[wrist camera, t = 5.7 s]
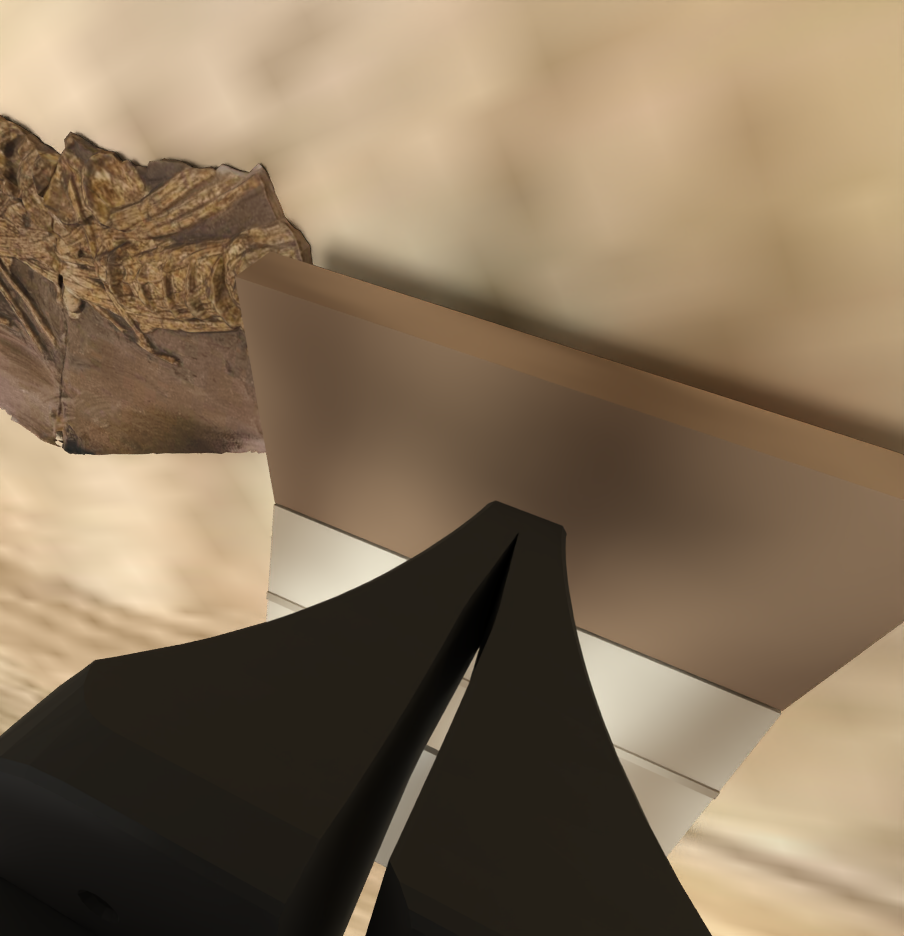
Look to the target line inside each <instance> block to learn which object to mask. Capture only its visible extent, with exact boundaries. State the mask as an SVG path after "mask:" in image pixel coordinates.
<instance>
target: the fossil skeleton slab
mask: <svg viewBox="0 0 904 936" xmlns="http://www.w3.org/2000/svg"><path fill="white" fill-rule="evenodd" d="M64 142H65V149H64V151H63V152H62V154H61V155H60V154H59V153H58V152H56V151H55V150H54V149H53V148H52V147H50V146H48V145H46V144H43V143H41V142H40V140H39V139H38V138H37V137H36V136H35V135H33V134H32V133H30V132H29V131H27V130H26V129H24V128H23V127H21V126H19V125H17V124H15V123H13V122H10V121H8V120H6V119H5V118H4V117H2V116H1V115H0V408H1V409H5V410H6V412H7V413H8V414H9V415H11V416H12V418H11V420H13V421H15V422H17V423H19V424H21V425H22V426H23V427H25V428H26V429H28V430H29V431H31V432H32V433H34V434H35V435H36V436H37V437H38V438H39V439H41V440H43V441H45V442H47V443H50V444H53V445H56V446H58V447H61V446H59V445H57V444H56V443H55V441H57V440H56V439H55V438H56V432H57V431H62V433H63V441H60V440H58V441H60V442H61V443H63V445H62V448H63V449H64V450H65V451H66V452H68V453H70V454H72V453H74V454H83V455H85V454H92V455H107V454H150V453H156V454H161V453H218V454H222V453H225V452H231V453H243V452H248V451H251V452H252V453H253V452H255V451H256V452H258V453H264V452H266V449H265V443H264V438H263V432H262V426H261V421H260V415H259V409H258V404H257V398H256V393H255V387H254V381H253V376H252V370H251V364H250V359H249V353H248V347H247V342H246V336H245V330H244V325H243V319H242V313H241V308H240V302H239V296H238V291H237V285H236V280H235V276H236V275H238V274H239V273H241V272H242V271H243V270H245V269H246V268H248V267H249V266H250V265H252V264H253V263H255V262H256V261H258V260H259V259H260V258H262V257H263V256H265V255H266V254H267V253H269V252H270V251H271V252H274V253H277V254H280V255H283V256H286V257H289V258H292V259H296V260H299V261H302V262H305V263H308V264H311V265H312V259H311V253H310V245H309V244H308V243H307V241H306V240H305V238H304V237H303V235H302V233H301V232H300V231H299V230H297V229H295V228H293V227H292V226H291V225H290V224H289V222H288V221H287V219H286V218H285V216H284V213H283V210H282V207H281V205H280V203H279V200H278V198H277V196H276V195H275V191H274V187H273V184H272V183H271V181H270V177H269V174H268V173H267V172H266V171H265V170H264V168H263V167H262V166H261V165H260V164H259V163H258V164H257V165H256V166H255V167H254V168H253V169H252V170H251V171H250V172H245V171H241V170H236V169H234V168H232V167H229V166H228V165H225V164H222V165H221V166H220V167H218V168H217V169H215V168H213V167H206V168H201V169H200V168H193V167H192V166H191V165H189V164H186V163H184V162H181V161H178V160H169V159H165V158H164V159H162V160H160V161H149V164H148V167H143V166H136V165H135V164H133V163H132V162H131V161H129V160H125V161H122V160H121V159H120V158H119V156H118V155H117V154H116V153H115V152H111V151H106V150H103V149H100V148H97V147H95V146H93V145H92V144H91V143H89V142H88V141H86V140H85V139H83V138H82V137H80V136H79V135H77V134H75V133H72V132H70V133H69V134H68V136H67V137H66V138H65V139H64Z"/></svg>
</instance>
